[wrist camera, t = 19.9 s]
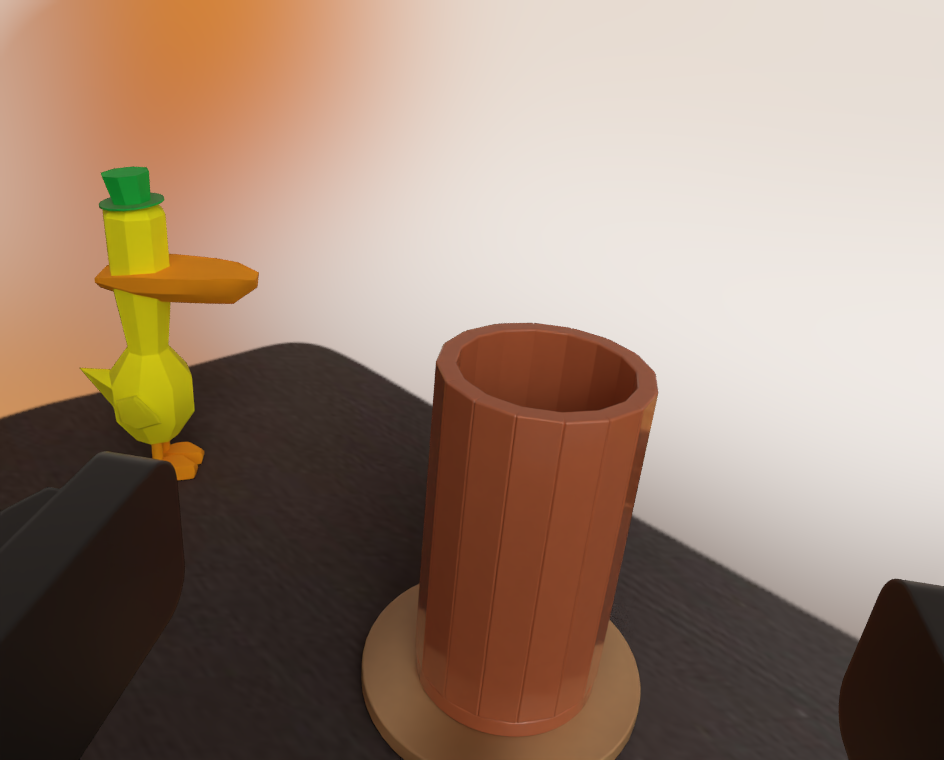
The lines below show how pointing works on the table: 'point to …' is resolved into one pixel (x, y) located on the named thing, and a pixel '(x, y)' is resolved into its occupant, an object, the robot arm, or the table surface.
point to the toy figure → (155, 316)
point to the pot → (526, 520)
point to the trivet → (473, 752)
